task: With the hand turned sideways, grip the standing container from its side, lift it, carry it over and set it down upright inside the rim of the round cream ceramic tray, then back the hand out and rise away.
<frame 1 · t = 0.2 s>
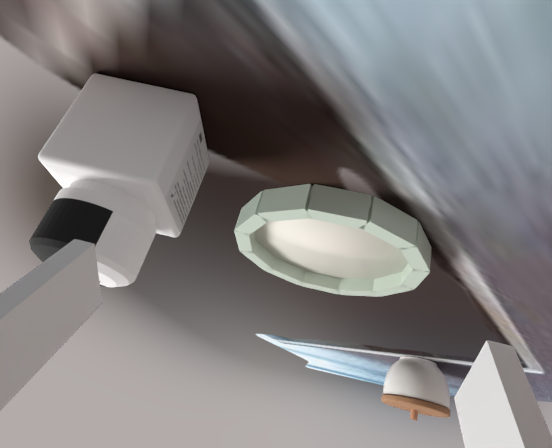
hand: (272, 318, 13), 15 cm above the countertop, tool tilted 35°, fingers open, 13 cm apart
round tray: (330, 239, 40), on the countertop
lidded bowl: (418, 360, 78), on the countertop
container: (158, 118, 30), on the countertop
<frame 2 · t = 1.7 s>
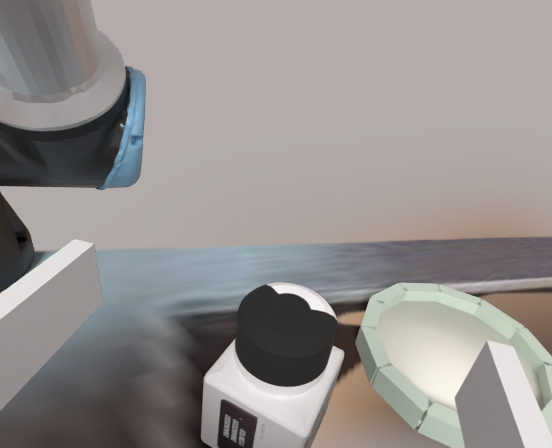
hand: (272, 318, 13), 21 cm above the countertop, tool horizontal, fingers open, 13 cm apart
round tray: (449, 362, 39), on the countertop
container: (266, 426, 31), on the countertop
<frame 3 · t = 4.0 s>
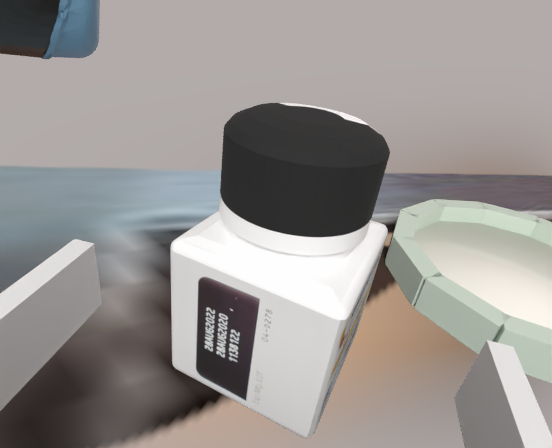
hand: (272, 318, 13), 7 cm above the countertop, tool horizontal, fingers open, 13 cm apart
round tray: (510, 284, 30), on the countertop
container: (270, 352, 21), on the countertop
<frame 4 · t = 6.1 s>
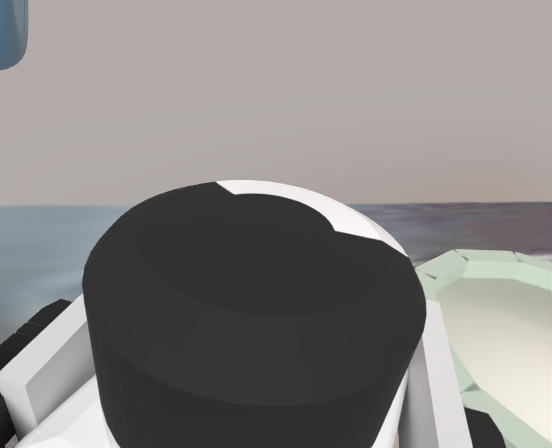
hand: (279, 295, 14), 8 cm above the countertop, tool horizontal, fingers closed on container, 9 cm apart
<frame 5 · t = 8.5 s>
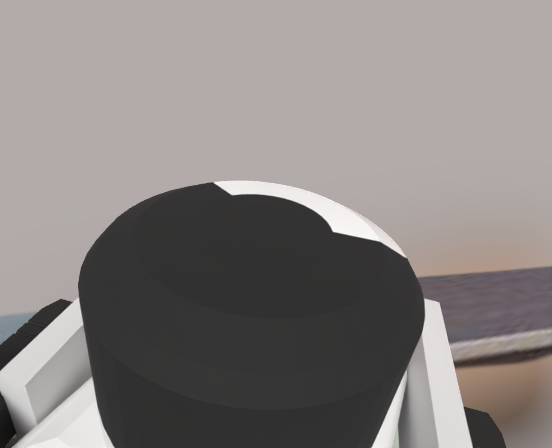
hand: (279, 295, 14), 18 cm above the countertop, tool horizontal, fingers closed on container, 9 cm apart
when the fingers open (10 cm above the countertop, at t = 11.3 s): container drops 1 cm, resting on round tray.
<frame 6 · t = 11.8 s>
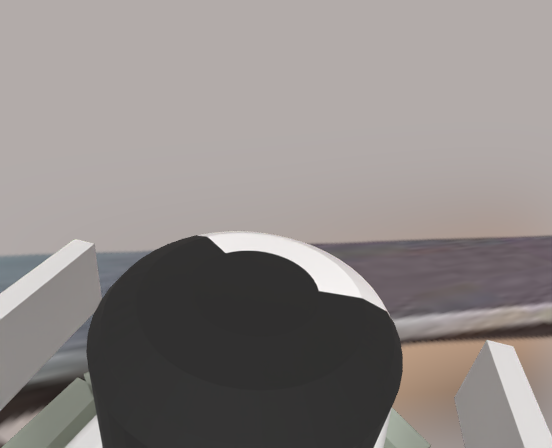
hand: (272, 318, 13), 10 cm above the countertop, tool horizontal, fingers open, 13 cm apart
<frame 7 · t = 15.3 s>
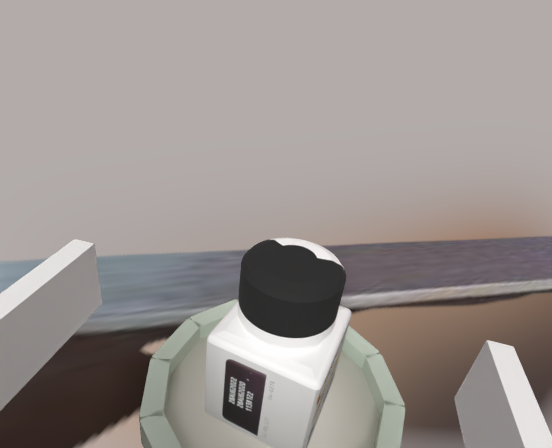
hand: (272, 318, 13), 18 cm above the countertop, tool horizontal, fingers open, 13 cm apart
round tray: (271, 402, 30), on the countertop
container: (272, 397, 30), point 1 cm above the countertop, touching round tray
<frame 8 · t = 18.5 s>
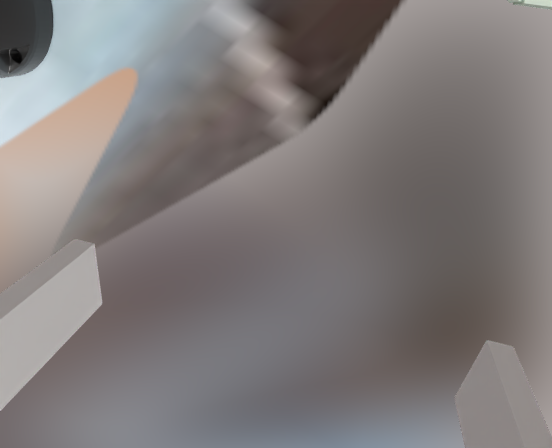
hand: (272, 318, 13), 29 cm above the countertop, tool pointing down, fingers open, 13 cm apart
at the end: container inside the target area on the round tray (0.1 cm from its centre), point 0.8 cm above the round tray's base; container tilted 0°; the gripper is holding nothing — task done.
